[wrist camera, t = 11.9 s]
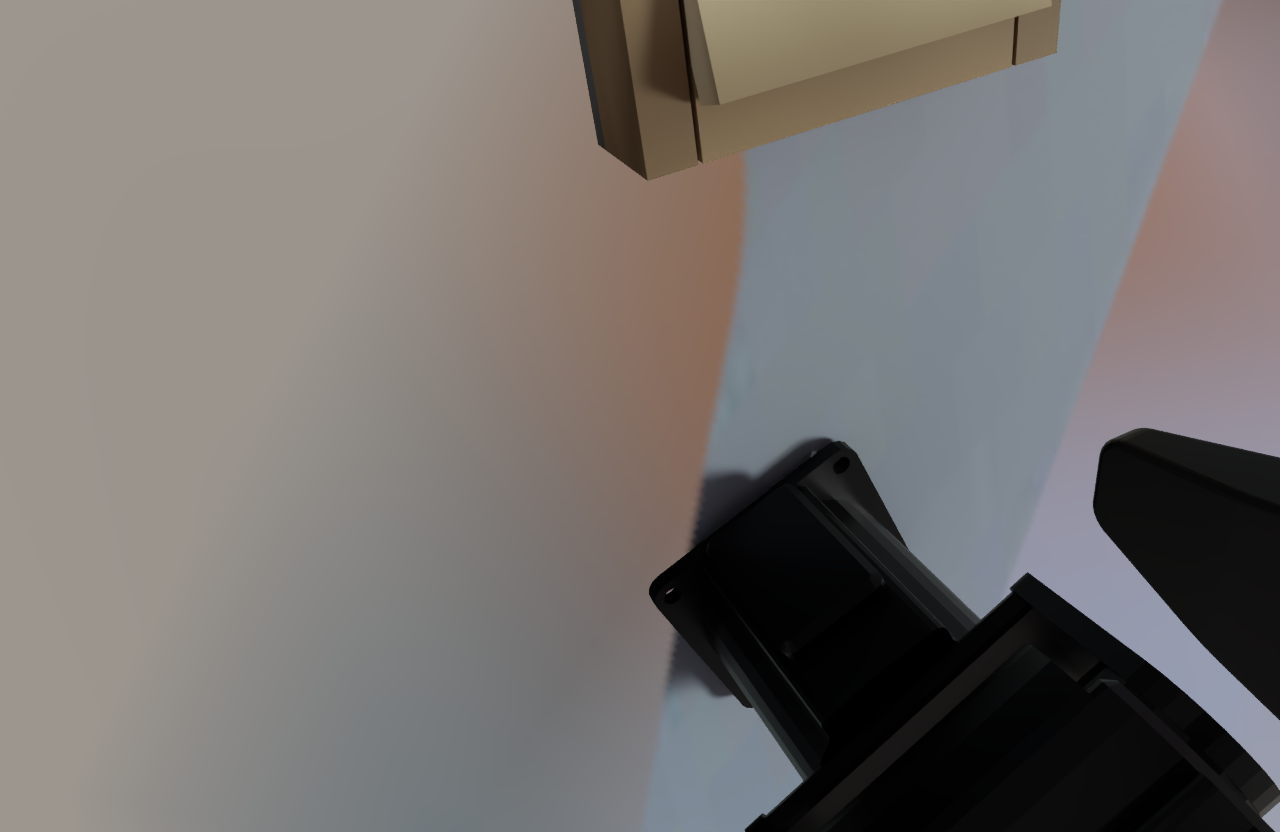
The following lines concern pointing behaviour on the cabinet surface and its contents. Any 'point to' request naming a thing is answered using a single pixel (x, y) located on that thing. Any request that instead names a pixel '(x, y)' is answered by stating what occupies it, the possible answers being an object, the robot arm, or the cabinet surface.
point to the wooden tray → (781, 65)
